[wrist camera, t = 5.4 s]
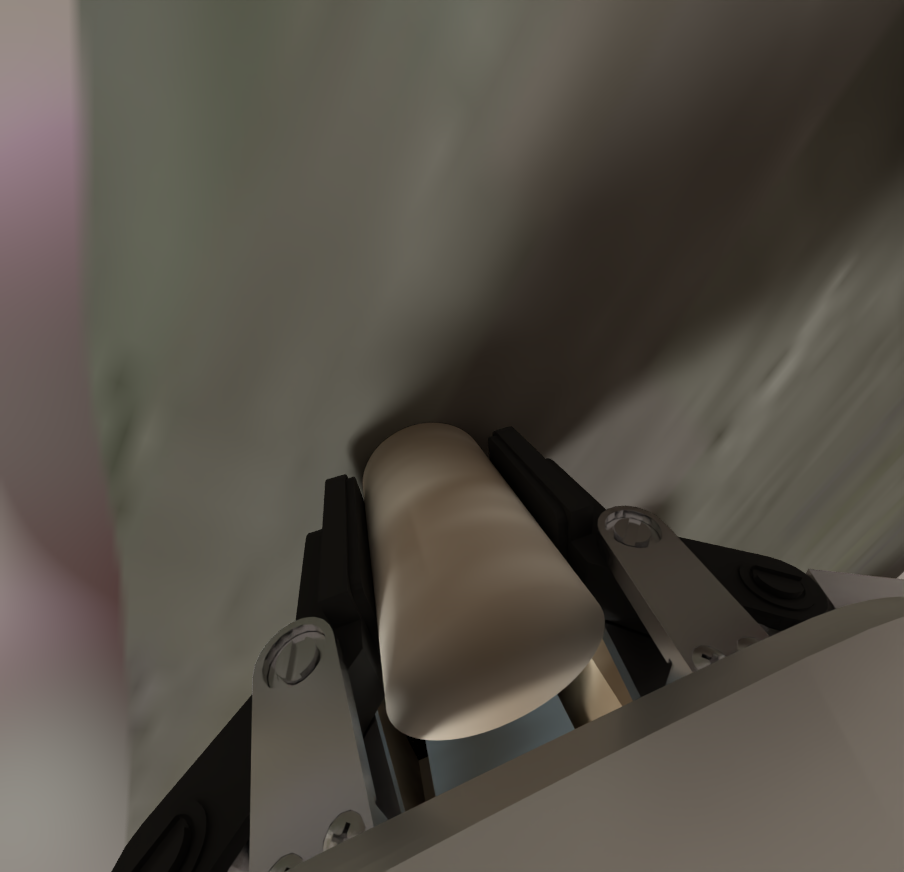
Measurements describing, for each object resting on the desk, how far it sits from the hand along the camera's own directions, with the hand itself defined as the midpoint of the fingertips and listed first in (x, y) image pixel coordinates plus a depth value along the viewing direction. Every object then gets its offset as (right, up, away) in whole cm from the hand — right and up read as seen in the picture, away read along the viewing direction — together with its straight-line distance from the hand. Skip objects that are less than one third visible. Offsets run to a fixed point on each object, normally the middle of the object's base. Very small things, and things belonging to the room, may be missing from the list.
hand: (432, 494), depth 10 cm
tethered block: (+1, -5, +4) cm, 7 cm away
